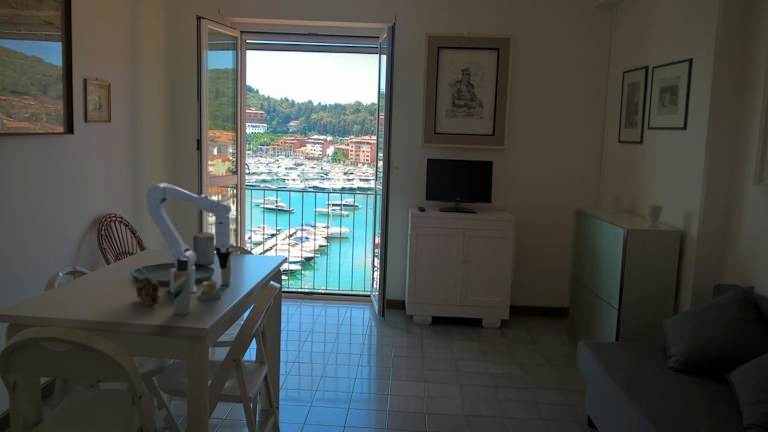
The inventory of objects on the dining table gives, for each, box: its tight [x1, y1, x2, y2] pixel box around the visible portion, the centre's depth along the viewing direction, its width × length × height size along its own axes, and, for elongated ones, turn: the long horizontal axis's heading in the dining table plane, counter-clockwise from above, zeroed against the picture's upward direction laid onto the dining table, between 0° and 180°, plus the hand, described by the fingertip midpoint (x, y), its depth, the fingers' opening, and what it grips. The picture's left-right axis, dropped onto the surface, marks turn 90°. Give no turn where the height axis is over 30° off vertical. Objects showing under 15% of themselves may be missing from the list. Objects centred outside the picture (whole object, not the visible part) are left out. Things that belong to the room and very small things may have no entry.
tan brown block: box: [202, 281, 218, 294], centre depth 236 cm, size 5×3×6 cm, turn 108°
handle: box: [220, 247, 235, 286], centre depth 254 cm, size 5×6×15 cm
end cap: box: [199, 289, 221, 301], centre depth 236 cm, size 8×6×2 cm
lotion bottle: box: [173, 257, 192, 316], centre depth 215 cm, size 6×6×20 cm
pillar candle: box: [192, 231, 215, 266], centre depth 290 cm, size 10×10×15 cm
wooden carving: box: [135, 276, 161, 306], centre depth 222 cm, size 16×5×10 cm, turn 47°
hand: (222, 266), depth 243 cm, fingers open, 7 cm apart
